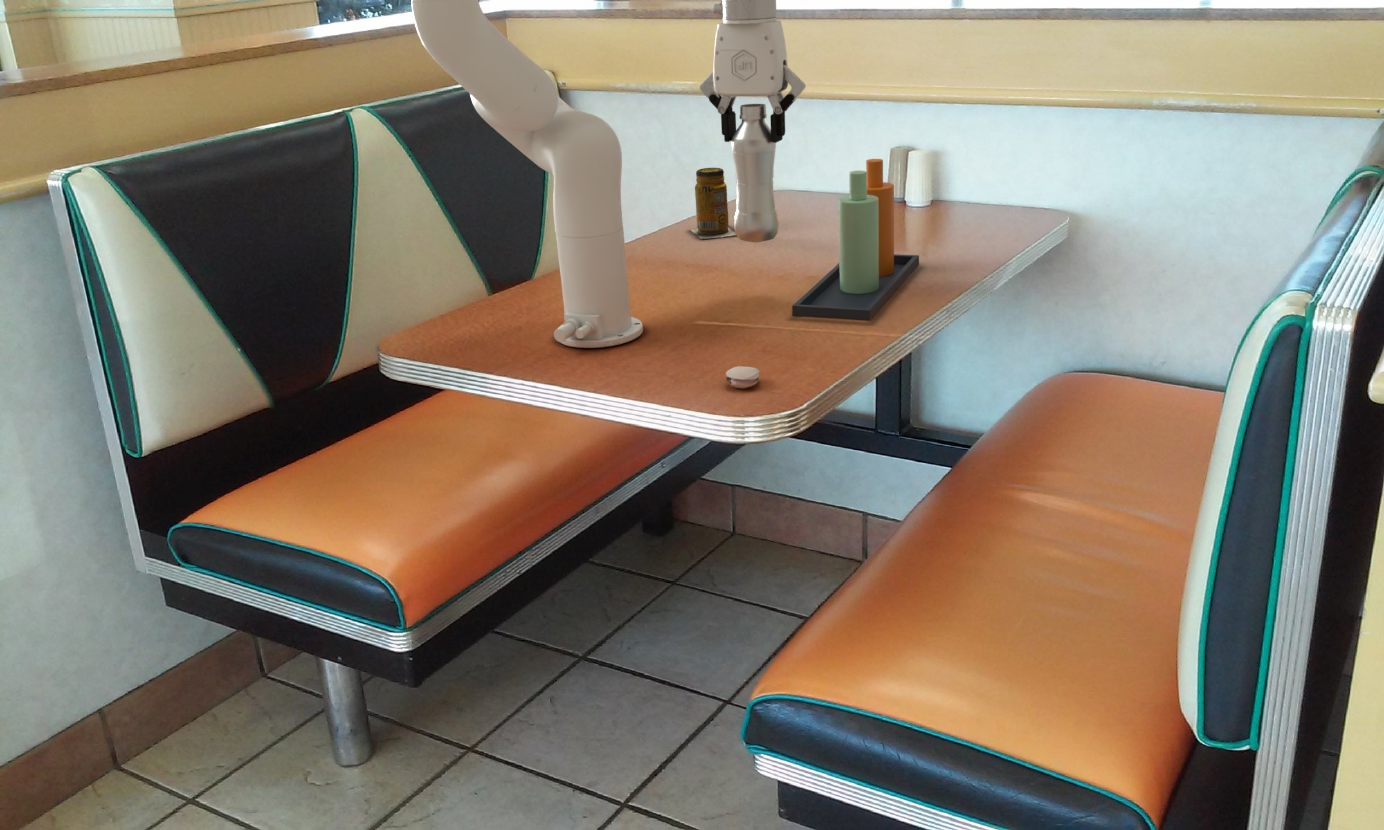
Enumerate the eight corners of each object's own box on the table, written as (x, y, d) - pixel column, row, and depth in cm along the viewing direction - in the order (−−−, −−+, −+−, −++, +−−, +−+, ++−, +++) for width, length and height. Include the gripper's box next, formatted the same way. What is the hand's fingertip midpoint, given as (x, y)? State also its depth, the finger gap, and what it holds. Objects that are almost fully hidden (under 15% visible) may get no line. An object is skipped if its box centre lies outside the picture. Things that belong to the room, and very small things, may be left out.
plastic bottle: (776, 246, 173) (773, 108, 165) (730, 246, 174) (726, 109, 167) (781, 236, 179) (779, 102, 171) (737, 236, 180) (733, 103, 173)
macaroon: (720, 387, 148) (718, 368, 147) (744, 375, 151) (743, 357, 150) (746, 394, 145) (745, 375, 144) (771, 381, 148) (770, 363, 147)
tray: (869, 324, 167) (869, 310, 166) (792, 319, 171) (791, 305, 171) (919, 267, 193) (919, 255, 192) (850, 264, 197) (850, 252, 196)
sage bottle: (873, 294, 178) (872, 176, 171) (835, 292, 181) (832, 176, 174) (883, 284, 183) (882, 168, 176) (846, 282, 186) (844, 168, 179)
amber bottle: (888, 277, 186) (888, 164, 179) (852, 276, 189) (850, 163, 182) (898, 267, 191) (898, 157, 184) (862, 266, 194) (861, 156, 187)
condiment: (726, 226, 229) (723, 165, 225) (737, 235, 221) (734, 172, 217) (690, 230, 228) (686, 169, 223) (700, 240, 220) (695, 176, 216)
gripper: (682, 15, 165) (688, 144, 171) (800, 11, 158) (802, 146, 164) (702, 11, 171) (708, 136, 177) (816, 8, 164) (818, 137, 171)
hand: (753, 139), depth 171 cm, fingers closed on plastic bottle, 6 cm apart
